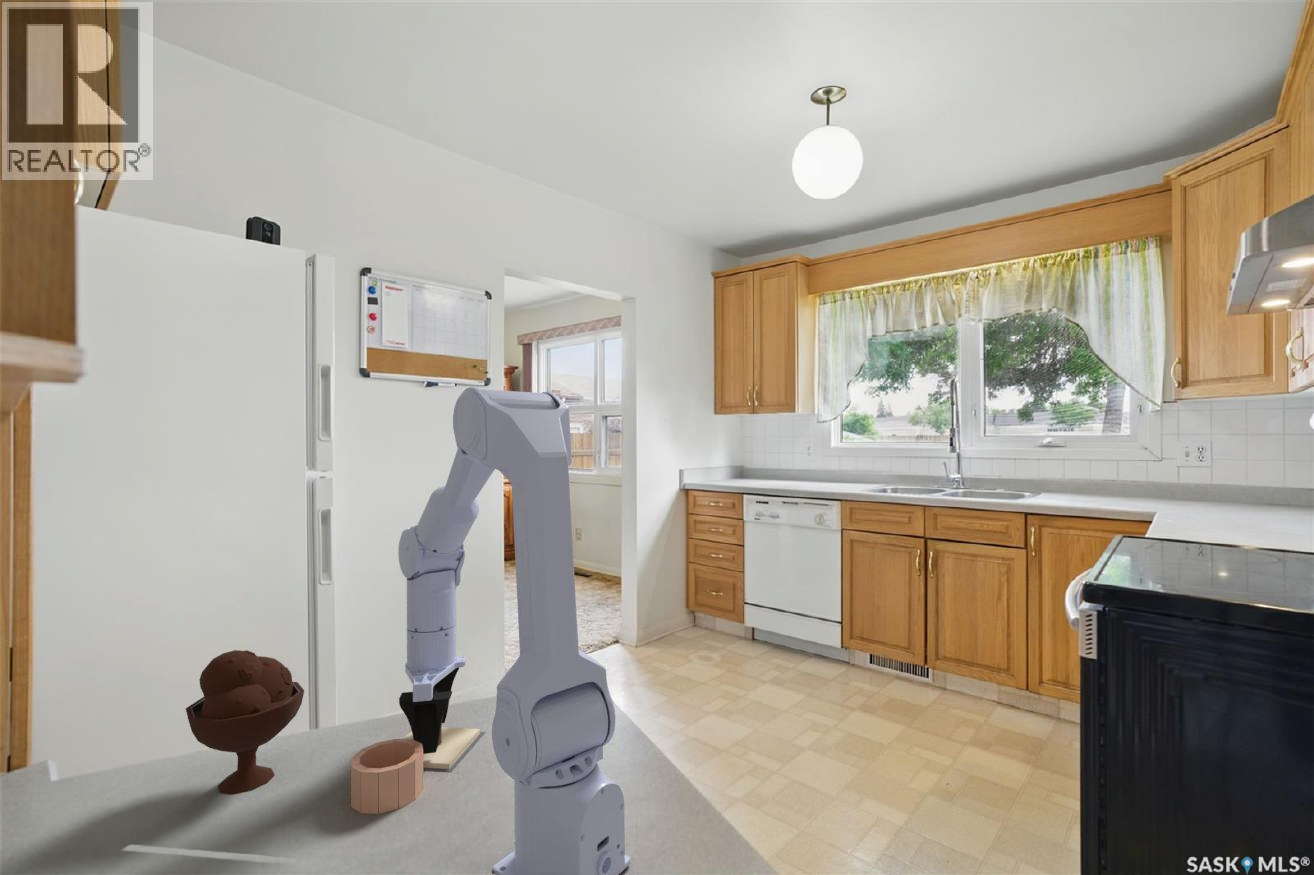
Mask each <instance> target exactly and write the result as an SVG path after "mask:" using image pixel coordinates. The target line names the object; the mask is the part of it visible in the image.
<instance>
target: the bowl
mask: <svg viewBox="0 0 1314 875" xmlns="http://www.w3.org/2000/svg"><path fill="white" fill-rule="evenodd" d="M350 761H351V762H350V807H351V808H352V809H353V810H354V811H356V812H358V813H360V814H371V815H372V814H373V815H378V814H384V813H388V812H392V811H396V810H399V809H401V808H403V807H405V806H407V805H409V804H411V803H412V802H414V801H416V800H417V799H418V797H419V796H420V795H421V794H422V793H423V791H424V771H423V746H422V743H419V742H417V741H415V740H413V739H403V738H393V739H387V740H383V741H377V742H376V743H373V744H371V745H369V746H366V747H364V748H362V749H360V750H358V751H357V753H355V754H354V755H353V756H352V757H351V760H350Z"/></svg>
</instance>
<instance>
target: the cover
mask: <svg viewBox="0 0 1314 875" xmlns="http://www.w3.org/2000/svg"><path fill="white" fill-rule="evenodd" d="M442 725H443V724H442ZM442 725H441V732H440V739H439V743H438V747H437V751H436V752H435V753H427V754H423V768H438V769H450V768H451V767H452V765H453V764H454V763H455V762H456V761H457V760H458V759H459V757H460V756H461V755H462V754H463V753H464V752H465V751H466V749H467V748H468V747H469V746H470V745H471V744H472V743H473V741H474V740H475V739H476V738H477V737H478V736H479V735H480V732H481V729H480V728H468V727H467V728H466V727H465V728H464V727H462V728H461V727H447V726H442ZM402 739H413V734H412V730H411V731H410V732H408V734H406V735H405V736H404V737H403V738H402ZM413 740H414V739H413Z"/></svg>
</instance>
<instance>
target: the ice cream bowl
mask: <svg viewBox="0 0 1314 875" xmlns="http://www.w3.org/2000/svg"><path fill="white" fill-rule="evenodd" d="M199 677H200V678H199V687H200V690H201V692H202V693H203V697H201V698H200V699H198V700H196V701H195V702H193V703H192V704H190V705H189V706H187V707H185V712H186V716H187V719H188V723H189V727H190V730H191V733H192V734H193V735H194V738H195V739H196V740H197V742H199V743H201V745H204V746H206V747H207V748H209V749H213V750H216V751H220V752H225V753H226V752H227V753H235V754H236V756H237V769H236V770H235V771H233V772H232V773H230V774H229V775H228V776H226V777H225V778H224V779H223V780H222V781H221V782H219V783H218V785H217V789H218V792H219V793H220V794H224V795H225V794H226V795H237V794H242V793H247V792H251V791H254V790H256V789H258V788H260V787H262V786H265V785H267V784H268V783H269V782H270V781H271V780H272V779H273V778H274V777H275V772H274V770H273V768H272V767H268V766H263V765H257V751H258V749H259V747H260V746H262V745H265V744H267V743H268V742H270V741H271V740H272V739H274V738H275V737H276V736H278V734H279V733H281V731H283V730H284V729H285V728H286V727H287V726H288V725H289V724H290V722H291V721H292V720H293V719H294V718H295V717H296V716H297V714H298V712H299V710H300V708H301V706H302V703H303V698H304V694H305V689H304V688H303V687H302V686H301V684H300V683H299V682H298V681H293V676H292V672H291V671H290V669H289V668H288V667H286V666H285V665H284V664H283V663H282V662H280V660H278V659H276V658H274V657H268V656H261V655H259V656H258V655H257V654H255V652H252V651H250V650H248V649H247V650H236V649H235V650H231V651H227V652H223V653H222V654H219V655H217V656H216V657H214V658H212V660H210V662H209V663H208V664H207V666H206V667H204V669H203V670H202V672H201V674H200V676H199Z"/></svg>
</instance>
